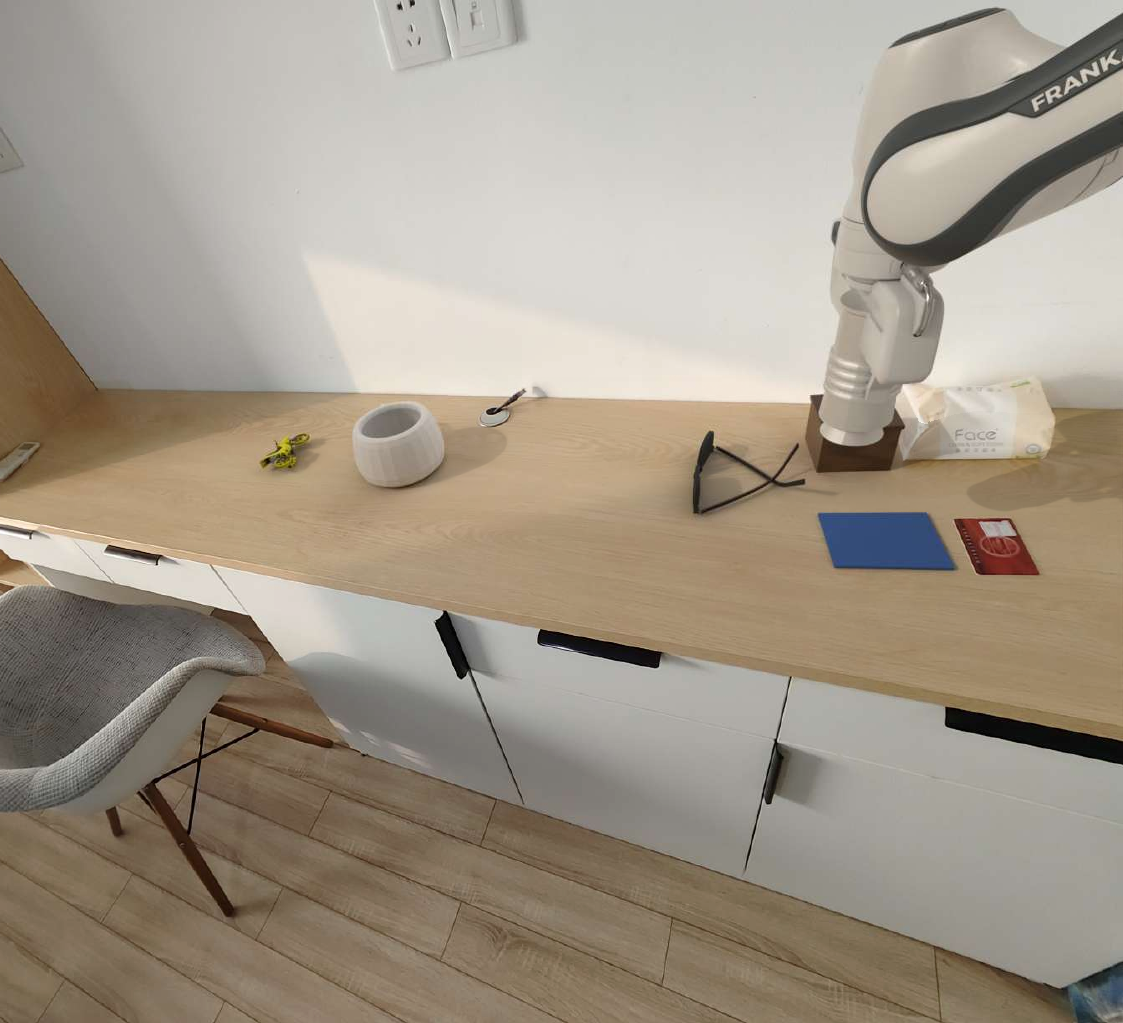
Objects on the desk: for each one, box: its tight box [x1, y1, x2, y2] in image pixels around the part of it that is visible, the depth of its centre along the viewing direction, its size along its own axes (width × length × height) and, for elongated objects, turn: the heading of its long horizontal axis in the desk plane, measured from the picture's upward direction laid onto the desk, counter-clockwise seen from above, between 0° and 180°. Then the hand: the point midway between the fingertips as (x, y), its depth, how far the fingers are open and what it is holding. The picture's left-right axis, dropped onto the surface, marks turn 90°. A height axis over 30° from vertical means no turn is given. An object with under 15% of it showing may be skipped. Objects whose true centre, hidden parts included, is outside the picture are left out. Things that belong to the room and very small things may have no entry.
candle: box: [819, 289, 904, 446], centre depth 62 cm, size 7×7×15 cm
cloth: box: [817, 511, 956, 571], centre depth 76 cm, size 12×10×1 cm
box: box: [804, 393, 906, 473], centre depth 87 cm, size 9×9×8 cm
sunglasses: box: [692, 430, 806, 515], centre depth 88 cm, size 17×14×5 cm
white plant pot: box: [351, 400, 446, 488], centre depth 112 cm, size 21×17×10 cm
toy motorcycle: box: [259, 432, 311, 470], centre depth 124 cm, size 12×4×7 cm
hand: (862, 380), depth 63 cm, fingers closed on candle, 7 cm apart
